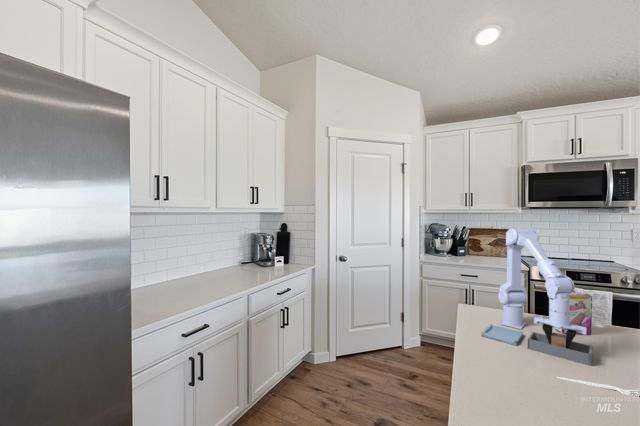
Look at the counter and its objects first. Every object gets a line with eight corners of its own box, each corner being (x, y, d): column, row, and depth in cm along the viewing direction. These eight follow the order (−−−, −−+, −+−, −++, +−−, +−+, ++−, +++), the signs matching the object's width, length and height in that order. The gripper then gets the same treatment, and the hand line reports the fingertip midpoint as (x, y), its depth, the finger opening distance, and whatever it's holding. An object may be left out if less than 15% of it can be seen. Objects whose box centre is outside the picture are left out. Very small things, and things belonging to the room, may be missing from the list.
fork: (555, 377, 90) (555, 371, 90) (646, 394, 81) (646, 387, 81) (557, 382, 87) (557, 376, 87) (652, 401, 78) (652, 394, 78)
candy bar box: (563, 334, 120) (563, 294, 120) (554, 329, 125) (554, 291, 125) (592, 335, 119) (592, 295, 118) (583, 330, 123) (583, 292, 123)
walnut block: (552, 348, 107) (552, 332, 107) (567, 352, 105) (567, 335, 105) (551, 352, 105) (551, 335, 105) (565, 356, 102) (565, 339, 102)
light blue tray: (490, 327, 127) (490, 324, 127) (523, 336, 118) (523, 332, 118) (481, 336, 118) (481, 332, 118) (516, 345, 110) (516, 341, 110)
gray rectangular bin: (532, 340, 114) (532, 331, 114) (592, 356, 102) (592, 346, 102) (527, 348, 107) (527, 339, 107) (591, 365, 95) (591, 355, 95)
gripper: (532, 308, 107) (532, 345, 107) (585, 318, 97) (585, 359, 97) (535, 304, 112) (535, 339, 112) (587, 313, 102) (587, 352, 102)
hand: (559, 348), depth 105 cm, fingers closed on walnut block, 4 cm apart
